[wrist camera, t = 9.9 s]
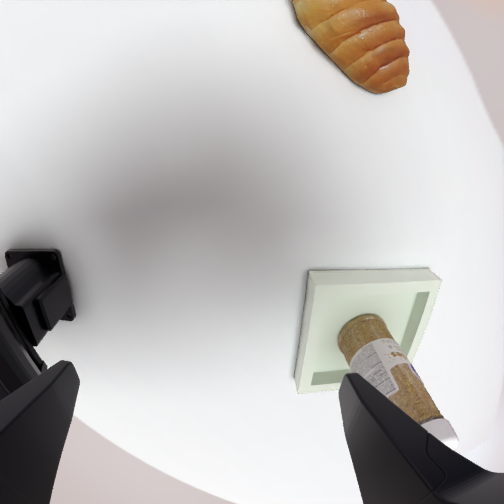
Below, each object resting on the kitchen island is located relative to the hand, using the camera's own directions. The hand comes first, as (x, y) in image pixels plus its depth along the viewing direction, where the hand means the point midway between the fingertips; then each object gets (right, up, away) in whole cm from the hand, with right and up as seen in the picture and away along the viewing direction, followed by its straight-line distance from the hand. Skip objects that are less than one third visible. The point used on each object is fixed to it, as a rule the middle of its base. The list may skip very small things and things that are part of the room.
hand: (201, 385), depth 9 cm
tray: (+11, -2, +16) cm, 19 cm away
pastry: (+8, +20, +7) cm, 22 cm away
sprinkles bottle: (+11, -3, +16) cm, 19 cm away
